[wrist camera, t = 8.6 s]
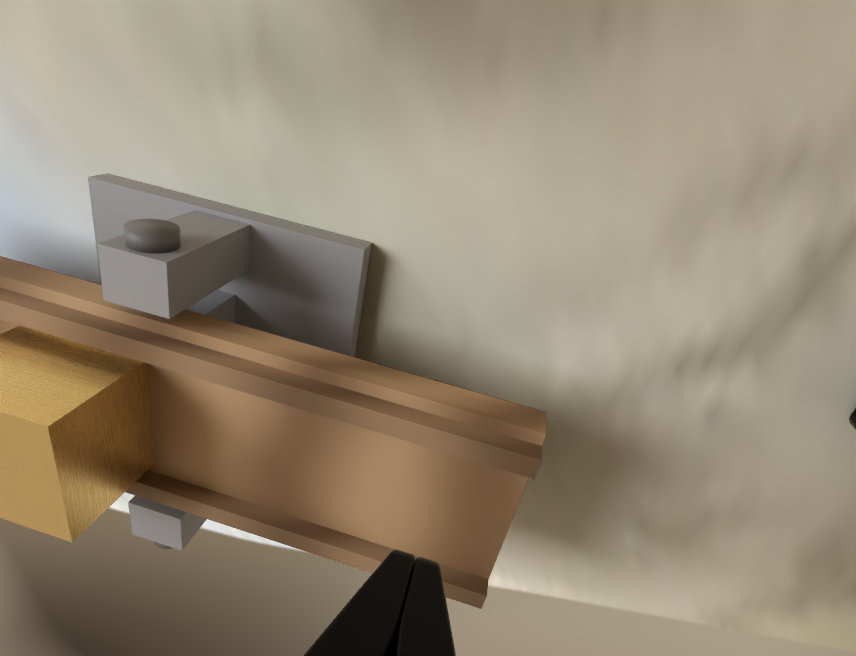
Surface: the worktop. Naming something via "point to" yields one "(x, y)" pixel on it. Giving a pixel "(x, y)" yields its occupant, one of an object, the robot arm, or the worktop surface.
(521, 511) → the worktop surface
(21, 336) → the block
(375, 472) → the balance beam
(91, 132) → the worktop surface
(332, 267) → the pivot stand
